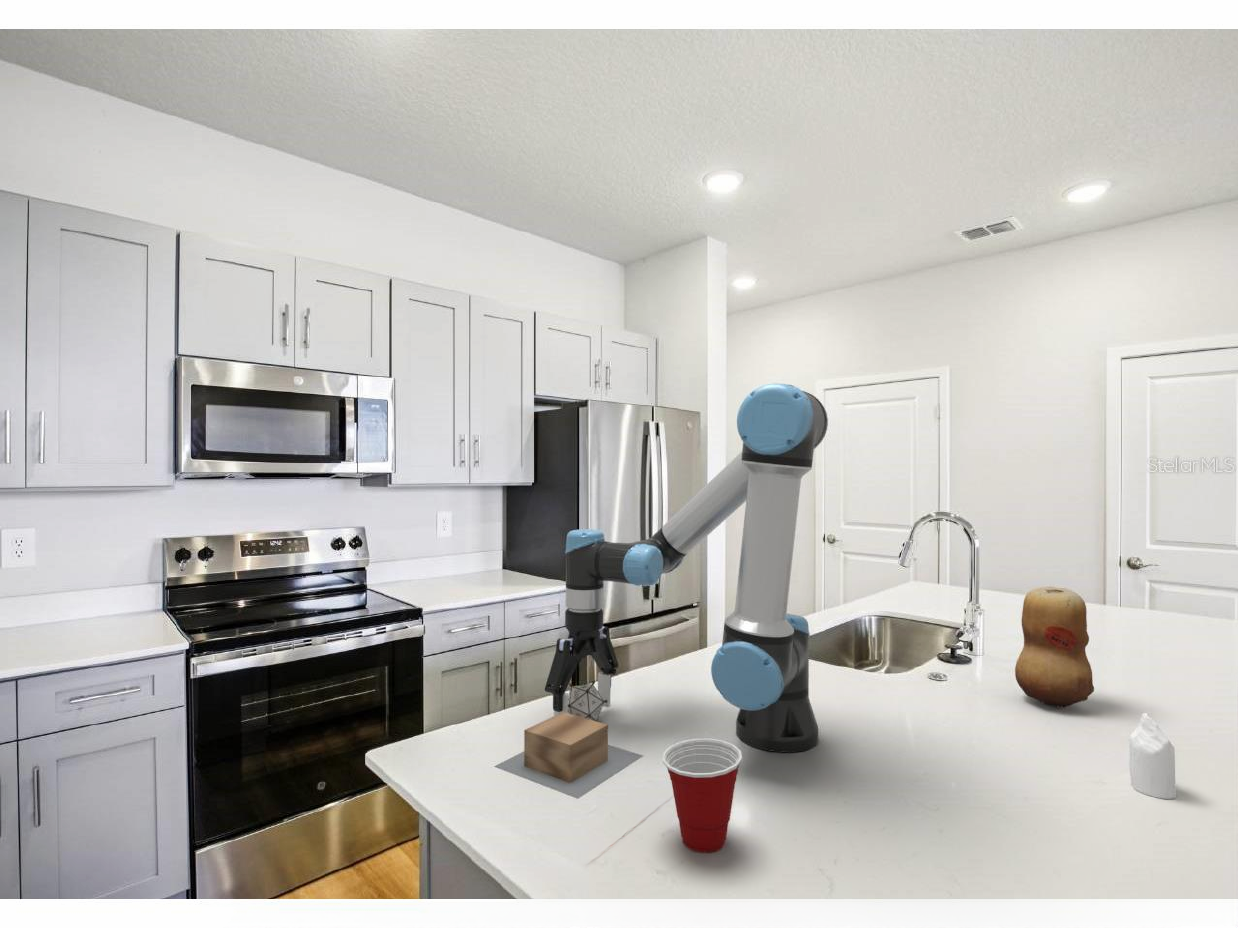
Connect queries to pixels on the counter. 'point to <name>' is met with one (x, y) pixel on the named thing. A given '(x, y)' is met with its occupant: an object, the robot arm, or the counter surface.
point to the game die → (585, 701)
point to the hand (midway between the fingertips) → (583, 716)
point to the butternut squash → (1054, 648)
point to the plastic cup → (703, 789)
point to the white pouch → (1152, 760)
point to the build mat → (583, 784)
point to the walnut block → (566, 746)
